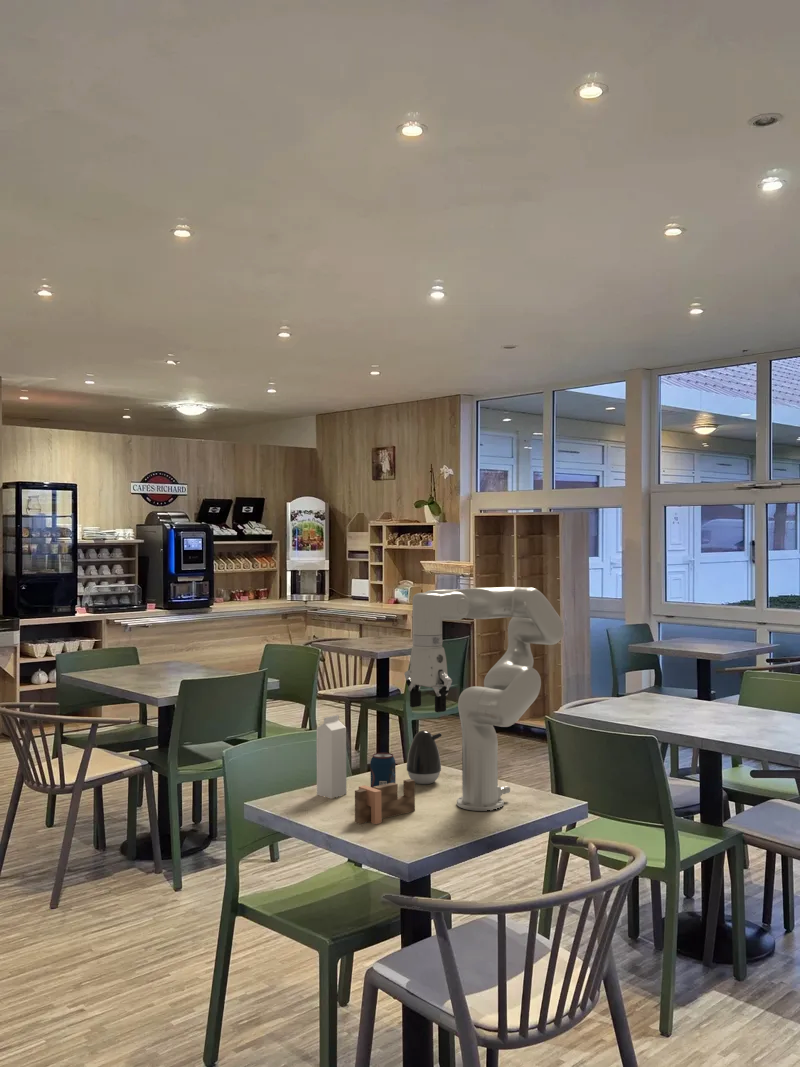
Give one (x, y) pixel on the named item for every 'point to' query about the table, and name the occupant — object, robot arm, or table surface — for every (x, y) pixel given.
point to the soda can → (382, 769)
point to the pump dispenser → (424, 758)
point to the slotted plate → (373, 803)
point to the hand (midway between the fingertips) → (427, 709)
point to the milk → (331, 758)
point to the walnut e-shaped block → (386, 801)
